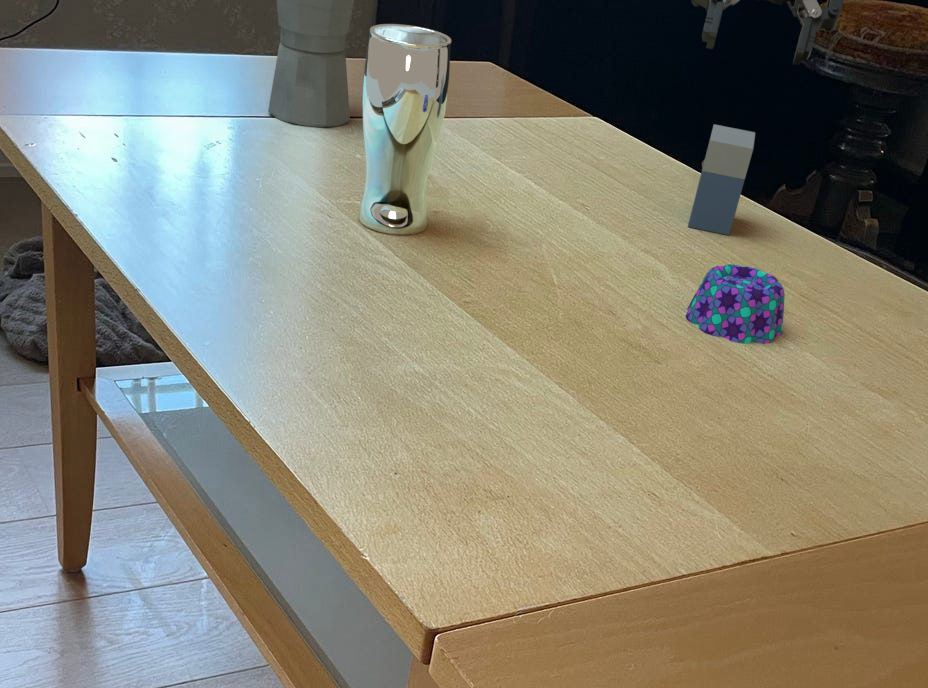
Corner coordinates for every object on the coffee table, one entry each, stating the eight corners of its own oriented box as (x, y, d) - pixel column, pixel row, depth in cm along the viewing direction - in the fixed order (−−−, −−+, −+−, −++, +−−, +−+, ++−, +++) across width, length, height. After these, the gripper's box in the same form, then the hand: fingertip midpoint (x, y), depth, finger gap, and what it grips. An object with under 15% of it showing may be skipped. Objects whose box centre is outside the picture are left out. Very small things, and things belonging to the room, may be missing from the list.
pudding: (666, 298, 96) (682, 235, 92) (810, 334, 93) (832, 271, 90) (637, 351, 86) (653, 283, 83) (795, 393, 84) (819, 324, 81)
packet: (731, 216, 115) (755, 132, 110) (729, 235, 110) (753, 148, 105) (692, 208, 115) (713, 124, 110) (687, 227, 111) (710, 139, 106)
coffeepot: (374, 133, 121) (390, -65, 110) (290, 134, 117) (298, -71, 106) (319, 91, 132) (328, -94, 120) (239, 90, 128) (242, -101, 116)
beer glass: (339, 209, 102) (352, 21, 93) (410, 206, 105) (429, 24, 96) (373, 239, 98) (390, 44, 88) (445, 235, 101) (469, 46, 91)
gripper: (853, -57, 117) (817, 89, 115) (713, -81, 119) (676, 62, 117) (874, -114, 110) (837, 40, 108) (725, -140, 111) (686, 12, 109)
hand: (753, 51), depth 112 cm, fingers open, 8 cm apart
